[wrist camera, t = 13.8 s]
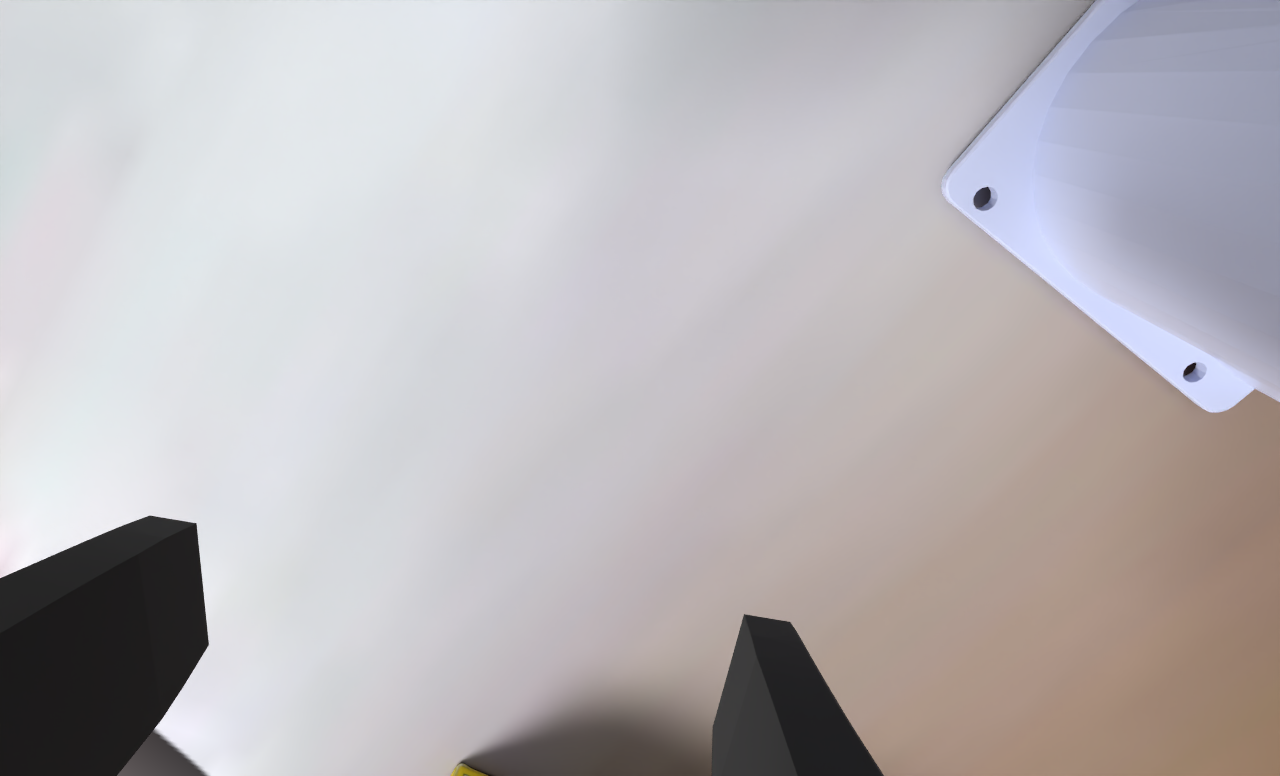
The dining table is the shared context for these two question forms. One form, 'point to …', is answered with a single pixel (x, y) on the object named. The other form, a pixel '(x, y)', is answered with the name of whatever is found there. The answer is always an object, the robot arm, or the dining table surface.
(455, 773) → the candy box
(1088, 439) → the dining table surface
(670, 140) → the dining table surface
